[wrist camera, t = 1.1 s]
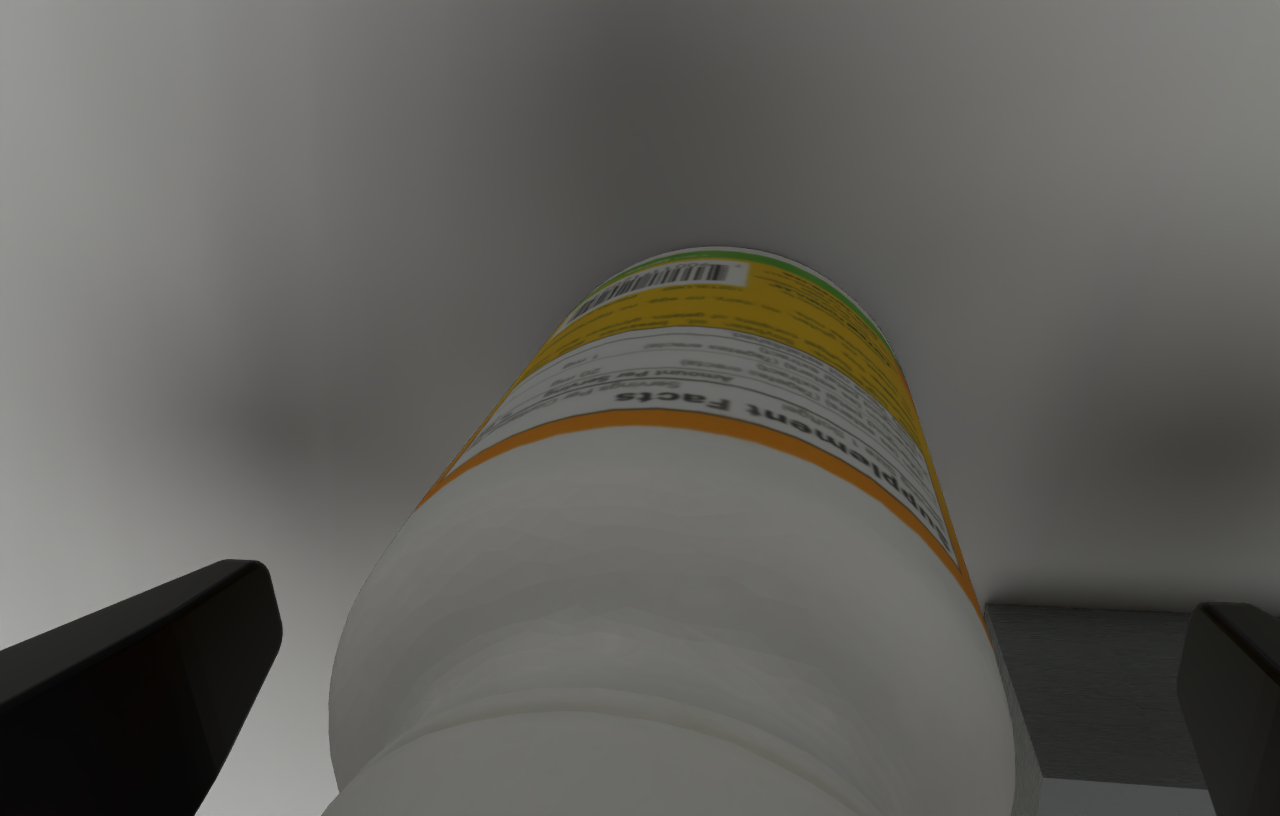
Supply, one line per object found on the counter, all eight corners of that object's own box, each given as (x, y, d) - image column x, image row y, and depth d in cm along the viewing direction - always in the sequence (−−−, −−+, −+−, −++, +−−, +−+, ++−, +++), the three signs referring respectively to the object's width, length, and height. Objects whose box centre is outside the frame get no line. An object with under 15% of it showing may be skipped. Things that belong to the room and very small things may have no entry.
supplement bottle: (772, 631, 15) (736, 1555, 6) (484, 460, 14) (-25, 1171, 5) (989, 371, 12) (1474, 1222, 4) (657, 161, 12) (277, 529, 3)
